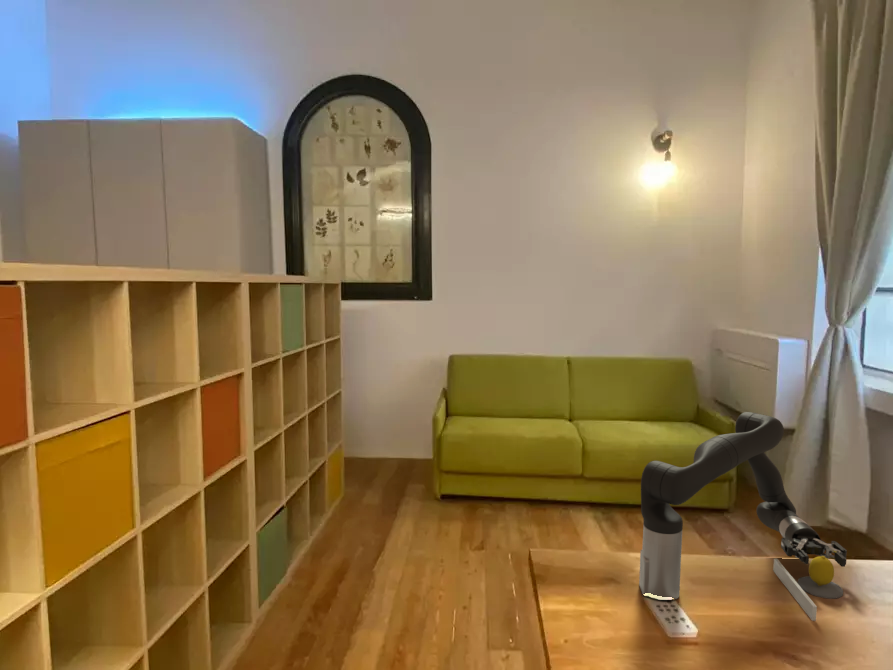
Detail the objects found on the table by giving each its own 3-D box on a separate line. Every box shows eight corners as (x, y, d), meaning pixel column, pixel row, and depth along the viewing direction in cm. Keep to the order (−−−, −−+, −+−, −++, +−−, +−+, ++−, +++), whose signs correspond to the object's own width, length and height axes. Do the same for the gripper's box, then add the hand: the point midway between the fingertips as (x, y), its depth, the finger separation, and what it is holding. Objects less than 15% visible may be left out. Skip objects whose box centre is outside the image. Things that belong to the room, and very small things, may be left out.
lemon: (835, 592, 156) (839, 562, 155) (811, 589, 157) (815, 559, 156) (826, 581, 162) (830, 552, 161) (803, 578, 163) (807, 549, 162)
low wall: (812, 620, 145) (813, 606, 145) (773, 570, 169) (774, 558, 168) (815, 620, 145) (816, 606, 144) (776, 571, 168) (777, 558, 168)
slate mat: (807, 597, 155) (807, 594, 155) (791, 577, 165) (791, 575, 165) (850, 600, 154) (850, 597, 154) (831, 579, 164) (831, 577, 164)
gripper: (772, 519, 173) (796, 545, 157) (827, 523, 171) (857, 549, 155) (770, 545, 174) (794, 574, 158) (825, 549, 172) (855, 578, 156)
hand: (825, 561), depth 157 cm, fingers open, 8 cm apart
